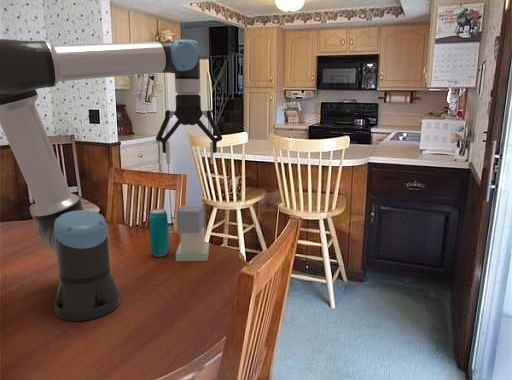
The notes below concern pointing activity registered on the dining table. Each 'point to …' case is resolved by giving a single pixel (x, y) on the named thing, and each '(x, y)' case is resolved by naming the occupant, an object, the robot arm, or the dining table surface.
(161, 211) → the beverage can
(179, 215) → the gray cube
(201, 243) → the cream brick
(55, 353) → the dining table surface
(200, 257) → the base plate
